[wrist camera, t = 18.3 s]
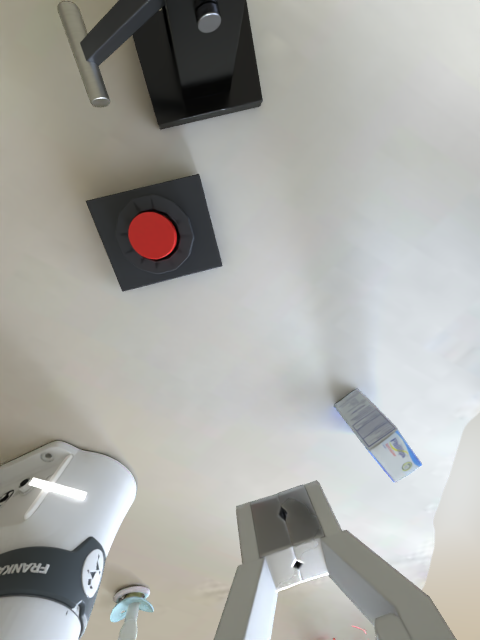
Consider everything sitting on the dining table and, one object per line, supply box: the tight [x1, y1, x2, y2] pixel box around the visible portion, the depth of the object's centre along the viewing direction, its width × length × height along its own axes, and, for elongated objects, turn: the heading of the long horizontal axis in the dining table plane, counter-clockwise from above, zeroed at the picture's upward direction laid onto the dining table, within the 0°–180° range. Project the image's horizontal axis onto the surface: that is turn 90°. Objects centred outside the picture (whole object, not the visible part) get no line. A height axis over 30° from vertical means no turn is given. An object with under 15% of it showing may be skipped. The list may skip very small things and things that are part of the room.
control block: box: [86, 174, 222, 291], centre depth 26 cm, size 11×9×4 cm
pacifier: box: [110, 586, 154, 640], centre depth 43 cm, size 7×6×6 cm
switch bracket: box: [133, 0, 262, 129], centre depth 18 cm, size 10×8×12 cm
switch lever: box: [57, 0, 165, 107], centre depth 16 cm, size 13×6×2 cm
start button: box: [128, 212, 177, 259], centre depth 23 cm, size 4×4×2 cm
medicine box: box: [334, 389, 422, 482], centre depth 35 cm, size 8×4×9 cm, turn 38°
